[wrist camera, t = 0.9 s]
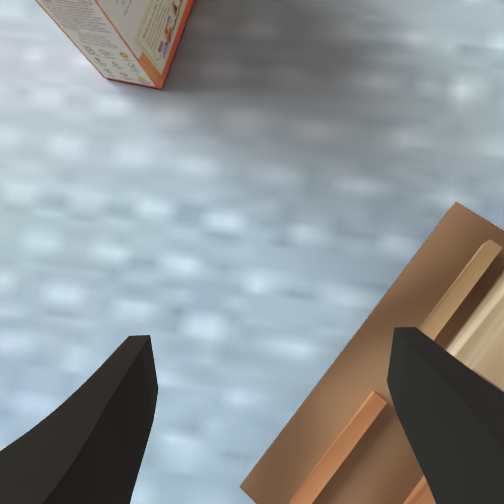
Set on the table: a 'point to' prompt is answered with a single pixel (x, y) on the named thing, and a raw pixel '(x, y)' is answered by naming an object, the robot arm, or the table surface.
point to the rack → (379, 382)
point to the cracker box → (124, 35)
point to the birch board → (484, 337)
